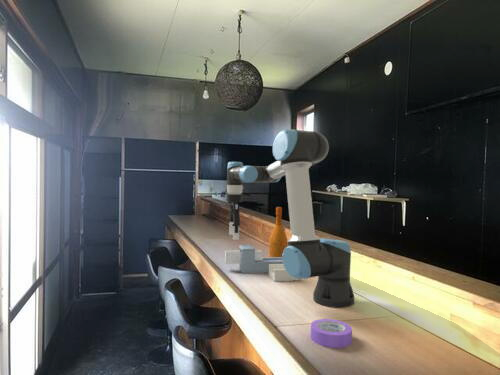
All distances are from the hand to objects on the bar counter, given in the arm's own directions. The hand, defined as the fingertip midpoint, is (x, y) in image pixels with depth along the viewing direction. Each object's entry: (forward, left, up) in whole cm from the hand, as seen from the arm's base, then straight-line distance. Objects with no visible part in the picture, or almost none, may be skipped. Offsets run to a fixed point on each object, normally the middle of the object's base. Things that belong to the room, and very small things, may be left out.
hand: (233, 237), depth 183 cm
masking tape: (-79, -17, -17) cm, 83 cm away
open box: (0, -14, -16) cm, 22 cm away
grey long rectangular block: (0, -5, -12) cm, 13 cm away
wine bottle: (+15, -26, -17) cm, 35 cm away
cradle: (-15, -21, -16) cm, 31 cm away
